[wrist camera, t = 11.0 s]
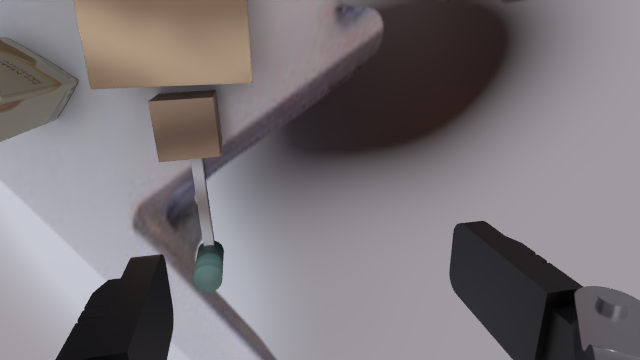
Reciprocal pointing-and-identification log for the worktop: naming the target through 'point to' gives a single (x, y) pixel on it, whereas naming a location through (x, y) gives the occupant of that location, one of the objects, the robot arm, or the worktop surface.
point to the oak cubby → (164, 42)
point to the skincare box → (29, 90)
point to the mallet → (193, 163)
